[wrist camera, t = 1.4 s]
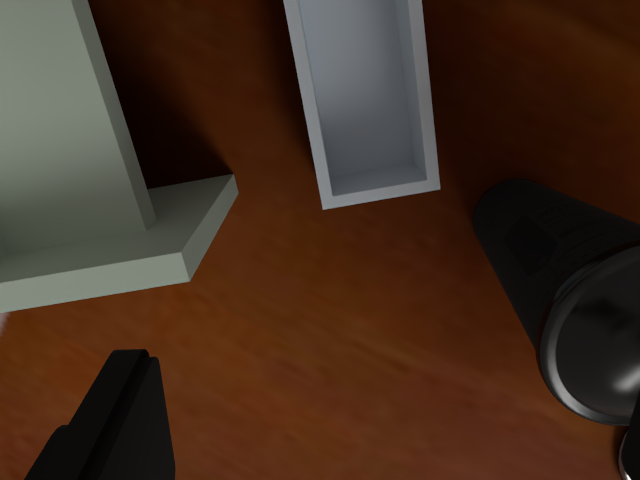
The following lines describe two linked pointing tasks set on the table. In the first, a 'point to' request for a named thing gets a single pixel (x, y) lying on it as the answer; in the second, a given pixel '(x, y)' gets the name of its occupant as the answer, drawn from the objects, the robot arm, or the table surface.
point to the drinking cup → (570, 292)
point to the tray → (365, 97)
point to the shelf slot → (83, 173)
